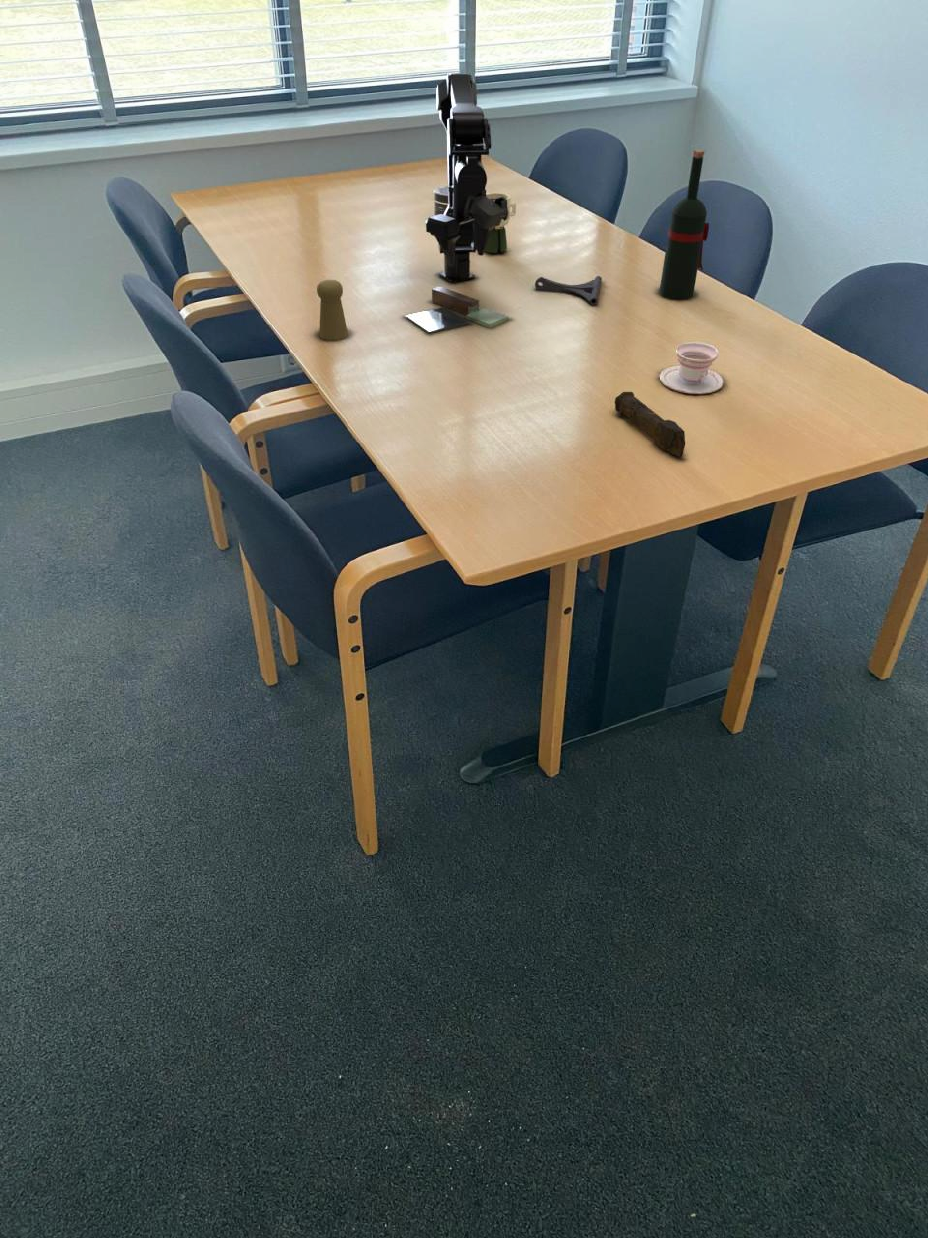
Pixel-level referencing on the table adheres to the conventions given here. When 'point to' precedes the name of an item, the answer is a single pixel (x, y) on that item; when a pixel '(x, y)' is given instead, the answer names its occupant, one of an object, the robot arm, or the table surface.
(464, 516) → the table surface
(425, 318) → the plate
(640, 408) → the dark brown long bar
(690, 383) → the teacup
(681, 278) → the wine bottle
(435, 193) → the jar
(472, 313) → the spatula
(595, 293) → the bracket
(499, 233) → the character mug
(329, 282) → the olive brown pawn
